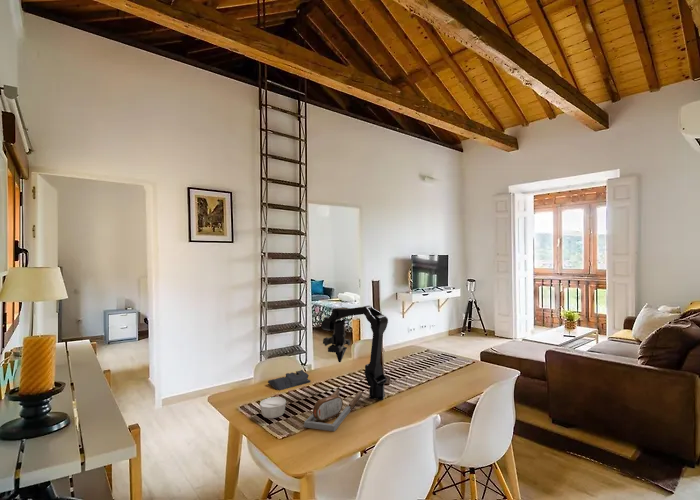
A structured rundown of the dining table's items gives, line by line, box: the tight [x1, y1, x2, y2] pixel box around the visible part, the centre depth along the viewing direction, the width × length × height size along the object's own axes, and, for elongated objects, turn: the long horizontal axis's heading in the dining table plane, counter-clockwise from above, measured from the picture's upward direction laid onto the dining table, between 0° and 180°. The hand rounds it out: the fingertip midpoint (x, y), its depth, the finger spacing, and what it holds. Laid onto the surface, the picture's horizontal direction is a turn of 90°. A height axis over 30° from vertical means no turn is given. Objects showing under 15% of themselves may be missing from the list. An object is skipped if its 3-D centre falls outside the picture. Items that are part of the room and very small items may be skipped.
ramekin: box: [259, 396, 287, 419], centre depth 164 cm, size 11×11×5 cm
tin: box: [312, 394, 344, 422], centre depth 159 cm, size 15×3×8 cm, turn 133°
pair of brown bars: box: [330, 389, 363, 410], centre depth 177 cm, size 13×16×2 cm
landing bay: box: [303, 405, 351, 432], centre depth 158 cm, size 13×20×2 cm, turn 162°
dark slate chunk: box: [267, 369, 311, 391], centre depth 204 cm, size 15×22×5 cm
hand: (339, 362), depth 195 cm, fingers closed
